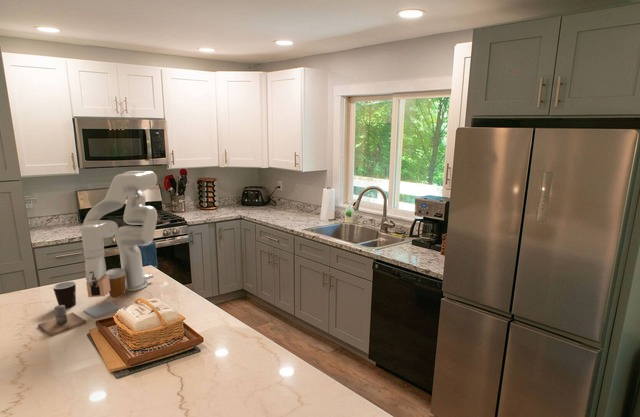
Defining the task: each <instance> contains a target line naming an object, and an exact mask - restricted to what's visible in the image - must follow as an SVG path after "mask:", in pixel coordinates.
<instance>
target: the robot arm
mask: <svg viewBox="0 0 640 417" xmlns="http://www.w3.org/2000/svg"><path fill="white" fill-rule="evenodd" d="M157 183H158V176H157V174H156V173H155V172H154V171H151V170H129V171H125V172H123V173H119V174H117V175H115V176H114V177H113V179H112V181H111V184H110V186H109V188H108V190H107V192H106V195H105V197H104V198H103V199H102V200H101V201H99V202H98V203H97V204H95V205H94V206H93V207H91V209H90V210H88V212H87V214H86V215H85V218H84V220H83V222H82V226H81V228H80V233H81V241H82V246H83V256H84V259H85V260H84V270H85V279H86V282H87V281H88V283H89V285H90V288H91V294H92V296H98V295H100V289H99V286H98V280H99V279H100V278H101V277H103V276H105V275H106V271H107V265H106V261H105V260H106V258H105V255H106V253H105V246H104V239H107V238H112V237H114V238H115V241H116V244H117V248H118V251H119V259H120V266H121V268H122V269H124V270H125V271H126V274H125V292H135V291H139V290H142V289H144V288H146V287H148V285H149V282H148V280H150V279H154V276H153V274H145V275H144V269H143V268H144V267H143V259H142V252H141V249H140V248H139V246H140V247H141V246H149V245H151V244H152V242H153V240H154V236H155V233H156V227H157V223H158V212H157V209H156V208H155V207H154V206H151V205H146V200H147V198H146V195H145V194H144V191H147V190H150V189H153V188H154V187H155V186H157ZM125 203H126V204H125ZM124 206H125V208H124V213H123V222H124V223H125V224H128V225H124V226H120V227H119V225H118V223H117V222H115V221H113V220H110V219H109V220H108V219H105V220H104V219H103V220H102V219H101V218H103V217H104V216H106V215H107V214H109V213H112V212H114V211H118V210H120V209H122V208H123V207H124ZM93 278H96V280H93ZM93 281H96V284H95V283H94V282H93Z"/></svg>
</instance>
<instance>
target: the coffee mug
mask: <svg viewBox="0 0 640 417" xmlns="http://www.w3.org/2000/svg"><path fill="white" fill-rule="evenodd" d="M76 285H77V284H76V282H75V281H71V280H70V281H64V282H63V281H61V282H59V283H57V284H54V285H53V286H52V289H53V292H54V295H55V298H56V301H57V304H58V305H57V306H59V305H65V310H67V309H70V308H72V307H75V306H76V303H77V300H76V299H77V298H76V297H77V295H76V294H77V290H76V289H77V288H76Z"/></svg>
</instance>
